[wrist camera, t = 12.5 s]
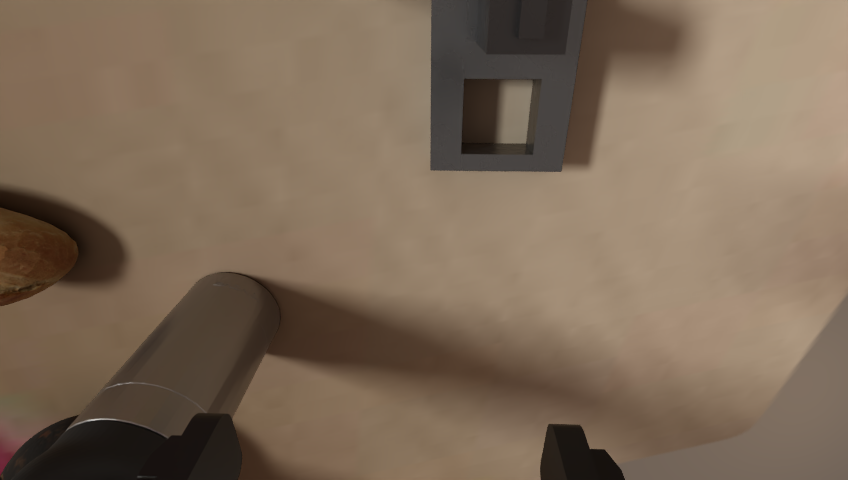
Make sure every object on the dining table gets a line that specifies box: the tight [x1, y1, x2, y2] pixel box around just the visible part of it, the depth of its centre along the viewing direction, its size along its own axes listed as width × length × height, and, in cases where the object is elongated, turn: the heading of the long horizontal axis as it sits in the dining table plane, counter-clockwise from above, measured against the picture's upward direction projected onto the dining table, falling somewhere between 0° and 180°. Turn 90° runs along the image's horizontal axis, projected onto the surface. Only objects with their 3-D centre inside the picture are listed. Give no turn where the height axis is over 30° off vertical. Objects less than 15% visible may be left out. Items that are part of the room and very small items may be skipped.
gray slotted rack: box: [431, 0, 587, 172], centre depth 26 cm, size 22×10×12 cm, turn 0°
